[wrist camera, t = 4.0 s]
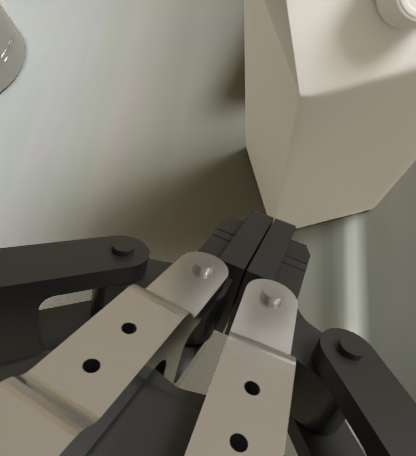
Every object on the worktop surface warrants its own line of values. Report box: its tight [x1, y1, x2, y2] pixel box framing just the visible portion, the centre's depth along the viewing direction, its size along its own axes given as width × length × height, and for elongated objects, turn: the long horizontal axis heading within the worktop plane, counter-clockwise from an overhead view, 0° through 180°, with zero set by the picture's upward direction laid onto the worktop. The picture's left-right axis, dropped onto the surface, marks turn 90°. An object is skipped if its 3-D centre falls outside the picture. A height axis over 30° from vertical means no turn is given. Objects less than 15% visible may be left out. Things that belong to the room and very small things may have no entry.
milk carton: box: [244, 0, 416, 229], centre depth 18 cm, size 7×7×19 cm
